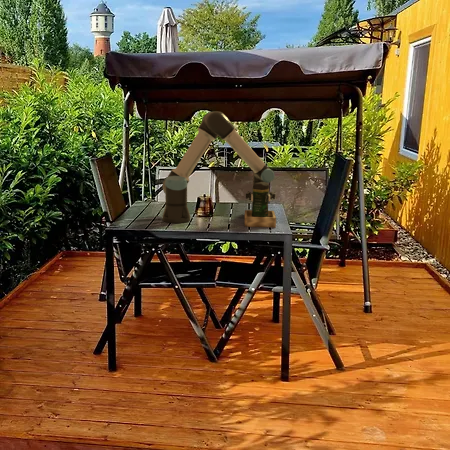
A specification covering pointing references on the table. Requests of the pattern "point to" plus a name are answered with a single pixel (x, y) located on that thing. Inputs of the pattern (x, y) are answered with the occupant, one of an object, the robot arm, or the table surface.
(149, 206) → the table surface
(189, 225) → the table surface
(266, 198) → the coffee jar
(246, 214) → the pine crate
